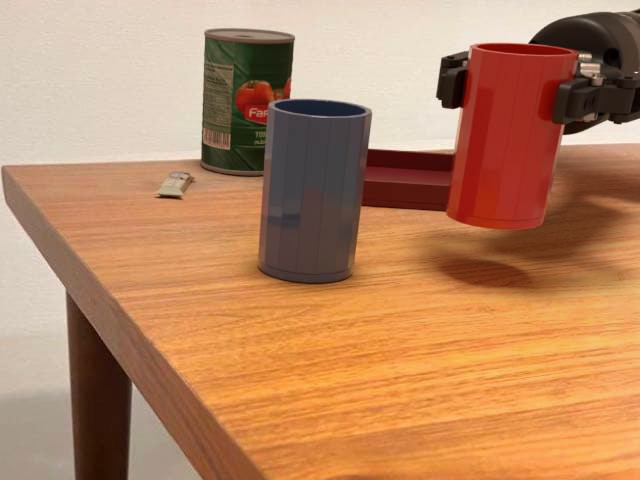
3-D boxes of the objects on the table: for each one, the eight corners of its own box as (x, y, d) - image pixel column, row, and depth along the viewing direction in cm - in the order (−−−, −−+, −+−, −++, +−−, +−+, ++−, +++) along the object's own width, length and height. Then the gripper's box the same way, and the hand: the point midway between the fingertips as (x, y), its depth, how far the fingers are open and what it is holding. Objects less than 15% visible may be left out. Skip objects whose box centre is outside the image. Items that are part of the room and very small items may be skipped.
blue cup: (351, 256, 68) (369, 102, 62) (354, 286, 62) (374, 120, 57) (260, 250, 68) (270, 96, 63) (255, 279, 63) (266, 113, 57)
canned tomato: (218, 153, 94) (224, 25, 88) (296, 163, 92) (307, 33, 86) (186, 169, 88) (190, 32, 82) (268, 180, 85) (278, 41, 79)
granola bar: (181, 191, 78) (146, 185, 79) (180, 205, 79) (145, 199, 79) (205, 171, 84) (172, 165, 84) (204, 185, 84) (171, 179, 85)
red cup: (533, 206, 67) (566, 45, 61) (552, 232, 61) (590, 57, 56) (440, 202, 67) (464, 40, 62) (451, 227, 62) (478, 53, 56)
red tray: (494, 179, 90) (498, 156, 89) (518, 215, 79) (524, 190, 78) (335, 169, 91) (337, 146, 89) (338, 203, 80) (340, 178, 79)
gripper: (501, 4, 72) (403, 17, 60) (706, 22, 65) (641, 39, 53) (483, 114, 76) (387, 145, 64) (673, 140, 69) (606, 181, 57)
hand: (503, 97), depth 59 cm, fingers closed on red cup, 6 cm apart
